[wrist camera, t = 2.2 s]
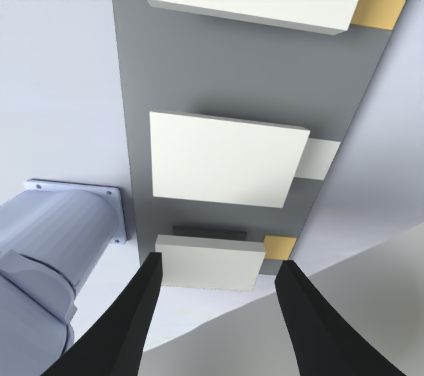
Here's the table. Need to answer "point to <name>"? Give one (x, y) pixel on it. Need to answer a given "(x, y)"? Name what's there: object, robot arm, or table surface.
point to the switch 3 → (209, 262)
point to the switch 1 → (273, 12)
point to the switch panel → (242, 106)
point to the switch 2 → (223, 158)
